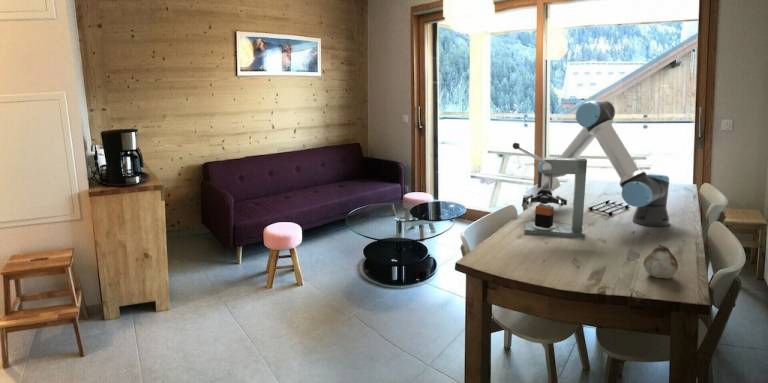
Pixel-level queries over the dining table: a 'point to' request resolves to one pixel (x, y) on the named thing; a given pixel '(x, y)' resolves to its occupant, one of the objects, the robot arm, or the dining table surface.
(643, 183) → the robot arm
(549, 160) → the arbor press
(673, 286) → the dining table surface
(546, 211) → the battery
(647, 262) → the fruit
